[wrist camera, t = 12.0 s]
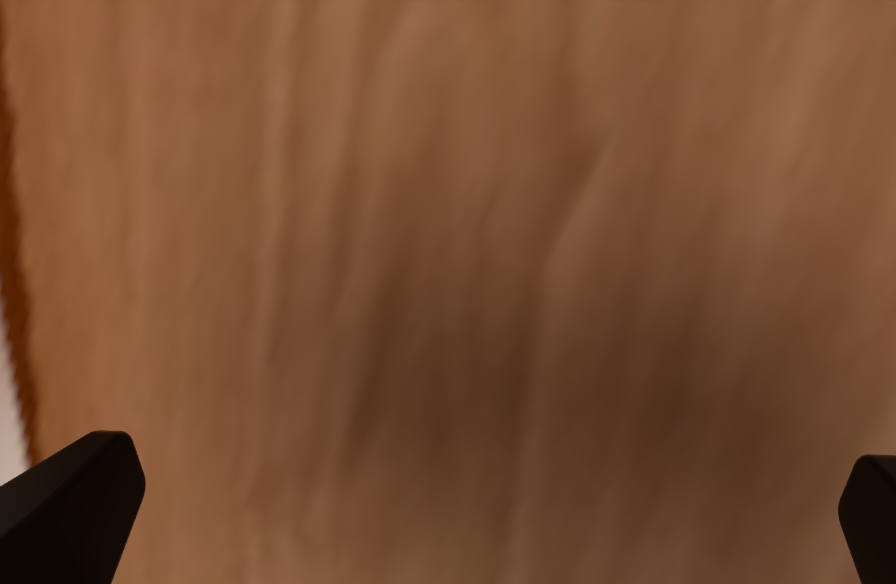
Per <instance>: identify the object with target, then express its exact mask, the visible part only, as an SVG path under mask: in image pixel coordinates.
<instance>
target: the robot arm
mask: <svg viewBox="0 0 896 584" xmlns="http://www.w3.org/2000/svg"><path fill="white" fill-rule="evenodd" d="M145 485H146V483H145V476H144V472H143V470H142V467H141V464H140V461H139V458H138V455H137V452H136V449H135V446H134V443H133V440H132V438H131V436H130V435H129V434H128V433H126V432H123V431H103V430H99V431H93V432H90V433H89V434H87V435H85V436H83V437H82V438H80V439H78V440H77V441H75V442H73V443H72V444H70V445H68V446H67V447H65V448H63V449H62V450H60V451H58V452H57V453H55V454H53V455H52V456H50V457H48V458H47V459H45V460H43V461H42V462H40V463H38V464H37V465H35V466H33V467H32V468H30V469H28V470H27V471H25V472H23V473H22V474H20V475H18V476H17V477H15V478H13V479H12V480H10V481H8V482H7V483H5V484H4V485H2V486H0V584H111V583H112V580H113V577H114V575H115V572H116V569H117V567H118V564H119V561H120V559H121V556H122V553H123V551H124V548H125V545H126V543H127V540H128V537H129V535H130V532H131V529H132V527H133V524H134V521H135V519H136V516H137V513H138V511H139V508H140V505H141V503H142V500H143V497H144V493H145ZM838 515H839V521H840V524H841V527H842V530H843V533H844V536H845V539H846V541H847V544H848V547H849V550H850V553H851V555H852V558H853V561H854V564H855V567H856V569H857V572H858V575H859V578H860V581H861V584H896V456H894V455H863V456H861V457H860V458H859V459H857V461H856V462H855V464H854V467H853V469H852V472H851V474H850V476H849V479H848V481H847V484H846V486H845V488H844V491H843V493H842V496H841V498H840V501H839V506H838Z"/></svg>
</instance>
